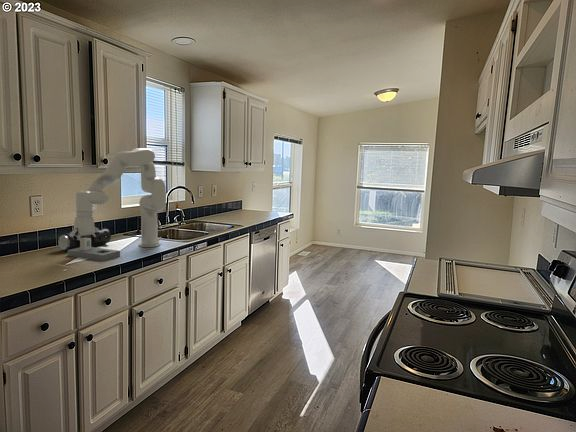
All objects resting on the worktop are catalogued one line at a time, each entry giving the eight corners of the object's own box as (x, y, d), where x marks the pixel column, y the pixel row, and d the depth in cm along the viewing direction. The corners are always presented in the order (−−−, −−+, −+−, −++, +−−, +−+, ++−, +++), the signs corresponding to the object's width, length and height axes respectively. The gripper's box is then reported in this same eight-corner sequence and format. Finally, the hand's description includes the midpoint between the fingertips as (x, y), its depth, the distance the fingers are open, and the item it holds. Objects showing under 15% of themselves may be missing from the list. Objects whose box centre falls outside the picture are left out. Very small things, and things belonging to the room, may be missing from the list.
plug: (85, 253, 211) (85, 237, 210) (92, 254, 210) (91, 238, 209) (79, 255, 207) (79, 238, 206) (86, 256, 206) (85, 239, 205)
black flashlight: (111, 245, 237) (111, 228, 236) (68, 253, 212) (68, 235, 211) (100, 243, 241) (100, 227, 240) (57, 251, 216) (56, 233, 215)
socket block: (86, 252, 216) (86, 245, 216) (120, 257, 208) (120, 250, 208) (67, 256, 205) (67, 249, 205) (102, 261, 197) (102, 254, 197)
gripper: (92, 212, 215) (92, 242, 217) (64, 215, 199) (65, 247, 201) (102, 213, 213) (103, 243, 215) (75, 216, 197) (76, 249, 199)
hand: (85, 245), depth 208 cm, fingers open, 9 cm apart
